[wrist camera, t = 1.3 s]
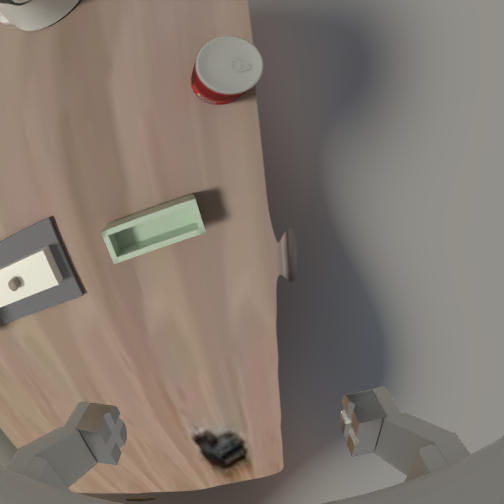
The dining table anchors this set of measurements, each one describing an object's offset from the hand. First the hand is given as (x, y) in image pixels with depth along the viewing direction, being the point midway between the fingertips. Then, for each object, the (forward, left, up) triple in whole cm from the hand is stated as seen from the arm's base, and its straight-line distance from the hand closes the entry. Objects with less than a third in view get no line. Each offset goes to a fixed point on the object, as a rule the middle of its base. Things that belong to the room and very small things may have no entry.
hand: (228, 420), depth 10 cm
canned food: (-17, +10, -40) cm, 44 cm away
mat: (+1, -31, -40) cm, 50 cm away
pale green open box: (+1, -5, -40) cm, 40 cm away
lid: (+1, -31, -39) cm, 50 cm away
